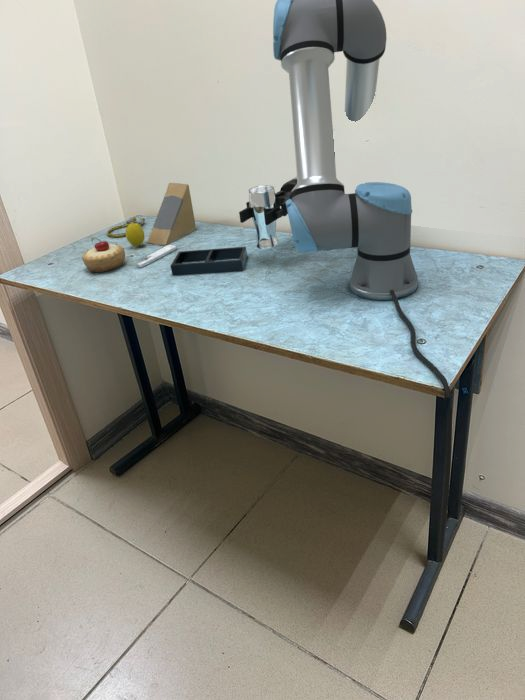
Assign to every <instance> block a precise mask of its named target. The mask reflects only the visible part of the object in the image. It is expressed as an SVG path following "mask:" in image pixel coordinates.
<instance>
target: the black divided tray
mask: <svg viewBox="0 0 525 700" xmlns="http://www.w3.org/2000/svg"><path fill="white" fill-rule="evenodd" d="M247 259H248V250H247V246H236V247H235V246H234V247H222V248H208V249H196V250H184V251H183V250H181V251H178V252H177V254H176V255H175V257H174V259H173V261H172V262H171V263H170V270H171V275H172V277H174V276H188V275H204V274H217V273H219V274H220V273H231V272H233V273H234V272H243V271H244V269H245V266H246V262H247Z"/></svg>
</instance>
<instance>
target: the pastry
mask: <svg viewBox="0 0 525 700" xmlns="http://www.w3.org/2000/svg"><path fill="white" fill-rule="evenodd" d="M95 239H96V240H98V241H99V242H97V243H95V244H94V247H91V248H90V249H89V250H88V249H86V251H83V253H82V255H81V260H82V262H83V264H84V266H85V267H86V268H87V269H88V270H89V271H90V272H93V273H104V272H109V271H112V270H115V269H117V268H118V269H119V268H120V267H121V266H123V265H124V262H125V259H126V252H125V247H123V246H121V245H118V244H117V243H115V244H114V243H109V242H108V241H107V240H103V241H102V240H100V238H97V237H92V238H91V243H93V242H94V240H95Z"/></svg>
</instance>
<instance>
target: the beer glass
mask: <svg viewBox="0 0 525 700" xmlns="http://www.w3.org/2000/svg"><path fill="white" fill-rule="evenodd" d="M275 193H276V192H275V186H273V185H269V184H266V185H265V184H262V185H256V186H253V187H250V188H249V189H248V202H249V205H250V212H251V216H252V218H251V219H252V222H253V225H254V229H255V233H256V240H255V241H256V243H255V247H256V248H257V249H260V250H270V249H274V248H277V247H278V246H279V244H280V241H279V238H278V234H277V220H275V221H274V222H272V223H270V224H269V225H265V217H264V214H265V213H267V212H269V211H270V210H272V209H274V208H275V207H277V203H276V196H275Z"/></svg>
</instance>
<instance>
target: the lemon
mask: <svg viewBox="0 0 525 700" xmlns="http://www.w3.org/2000/svg"><path fill="white" fill-rule="evenodd" d="M125 233H126V236H125V238H126V240H127V242H128V243H129V244H130V245H131V246H134V247H136V248H140V246H141V245H142V244H143V243H144V242H145V231H144V229H143V227H142V225H139V223H136V222H134V223H133V222H131V224H129V225H127V227H125Z"/></svg>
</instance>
